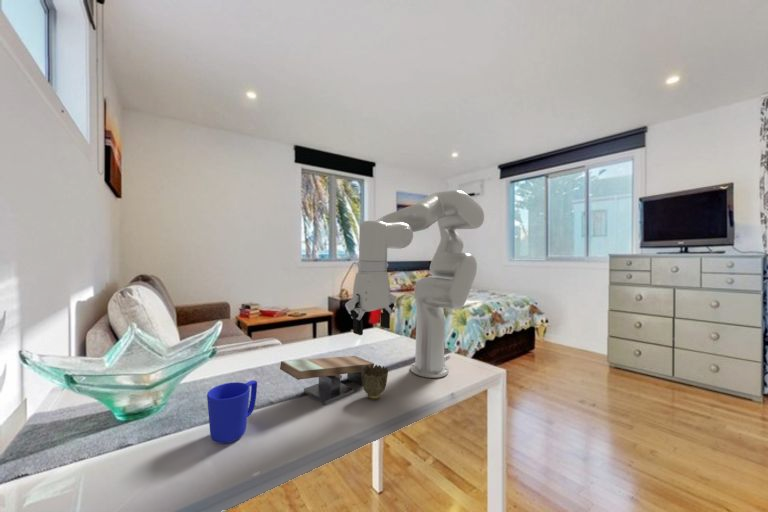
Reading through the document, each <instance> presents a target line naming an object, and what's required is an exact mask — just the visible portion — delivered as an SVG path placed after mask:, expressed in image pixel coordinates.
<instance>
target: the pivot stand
mask: <svg viewBox="0 0 768 512" xmlns="http://www.w3.org/2000/svg"><path fill="white" fill-rule="evenodd" d="M346 376H347V377H346V378H347V379H346V380H348V381H350V382H352V383H354V384H356V385H359V387H360V386H361V387H363V385H362V375H361V372H355V373H348V374H346ZM303 393H305V394H307V395H308V396H309V397H311V398H312V399H315V400H316V401H317V402H319V403H321V404H322V405H329V404H331V403H333V402H336V401H338V400H340V399H343V398H345V397H348V396H350V395H353V394H355V389H354V388H352V387H350V386H349V385H346V384H344V383H343V382H341V379H339V378H337V377H335V376H333V375H332V376H324V377H318V383H316V384H313V385H310V386H307V387H304V388H303Z"/></svg>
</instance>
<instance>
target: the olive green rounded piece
mask: <svg viewBox="0 0 768 512" xmlns="http://www.w3.org/2000/svg"><path fill="white" fill-rule="evenodd" d="M388 374H389V369H388V367H387V366H386V367H385V365H383V366H382V365H380V364H379V365H378V364H374V368H373V365H371V367H369V366H368V365H366V366H365V368H364V367H362V370H361V375H362V385H363V386H362V389H363V391H364V392H365V393H366V394H367V395H366V396H367V398H368V399H369V400H370V401H378V400H379V399H381V395H382V393H384V392H385V390H386V387H387V382H388Z"/></svg>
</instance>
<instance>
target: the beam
mask: <svg viewBox="0 0 768 512" xmlns="http://www.w3.org/2000/svg"><path fill="white" fill-rule="evenodd" d="M366 365H368V366H369V367H371V365H373V368H374V367H375V363H374V362H371V361H369V360H366V359H364V358H362V357H358V356H357V355H348V356H347V355H346V356H334V357H332V356H331V357H321V358H307V359H303V358H302V359H294V360H282V361H280V367H279V370H281V371H282V372H284V373H286V374H287V375H289V376H290V377H293V378H294V379H295V380H307V379H308V380H309V379H314V378H319V377H324V376H332V375H333V376H335V377H337V378H339V379H340V380H341V379H342V377H343V375H347V374H348V373H355V372H361V370H362V367H364V368H365V366H366Z"/></svg>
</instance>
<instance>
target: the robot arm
mask: <svg viewBox="0 0 768 512" xmlns="http://www.w3.org/2000/svg"><path fill="white" fill-rule="evenodd" d="M484 221H485V212H484V209H483V207H482V206H481V205H480V204H479V202H477V201H476V200H475V199H474V198H472V196H471V195H470V194H468V193H466V192H464V191H463V190H459V189H454V190H444V191H437V192H433V193H431V194H429V195H428V196H426V197H424V198H423V199H420V200H419V201H418V202H416V203H414V204H412V205H409V206H407V207H404V208H402V209H401V208H400V209H399V210H396V211H394V212H391V213H390V212H389V213H388V214H384V215H383V216H381V217H380V218H378V219H376V220H364V221H362V222H361V223H360V224H359V232H358V233H359V234H358V236H359V237H358V239H359V240H358V241H359V242H358V243H359V246H358V272H355V273H356V274H355V277H354V283H353V289H352V298H350V299H349V300H348V301H347V302H345V304H344V307H345V308H346V311H347V314H348V315H349V316H350V318H351V319H352V320H353V321H352V332H353V334H355V335H358V336H363V334H364V320H363V319H362V318H363V316H364V315H365V313H367V312H372V311H379V310H381V312H380V319H379V320H380V324H379V325H380V326H379V327H380V328H384V329H390V327H391V314H392V313H393V309H394V307H395V304H396V301H397V296H395V295H394V294H393V293H391V287H390V286H391V285H390V275H389V273H388V267H389V263H388V249H394V250H395V249H399V250H401V249H405V248H407V247H408V246H409V245H410V244H411V243H412V242H413V238H414V233H416V232H419V231H424V230H426V229H428V228H429V227H431V226H433V224H435V223H436V222H437V225H438V228H439V234H440V241H439V244H438V246H437V248H436V250H435V253H434V255H433V256H432V259H431V262H430V264H429V273H430V274H431V275H432V276H425V277H421V278H420V279H418V280H416V281H417V282H416V283H415V285H414V287H413V288H414V300H415V307H416V326H415V327H416V328H415V357H414V358H415V361H414V362H413V363H412V364H410V371H411V372H412V373H413V374H414V375H417V376H419V377H423V378H428V379H429V378H430V379H437V378H442V377H445V376H447V375H448V374H449V367H448V366H447V365H445V362H447V361H449V360H450V359H451V356H450V354H448V353H447V354H445V339H446V338H445V336H446V335H445V334H446V318H445V314H444V312H443V309H447V310H454V311H456V310H460V309H462V308H463V307H464V305H465V303H466V301H467V299H468V296H469V294H470V292H471V289H472V286H473V284H474V281H475V278H476V276H477V268H478V263H477V259H476V258H475V256H474V255H472V254H471V253H468V252H463V249H464V242H463V241H464V240H462V238H461V236H460V235H459V232H458V231H457V230H473V229H478V228H480V227H481V226H482V225H483V224H484Z"/></svg>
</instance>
